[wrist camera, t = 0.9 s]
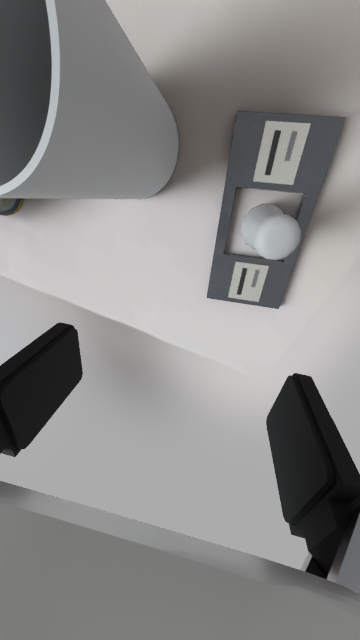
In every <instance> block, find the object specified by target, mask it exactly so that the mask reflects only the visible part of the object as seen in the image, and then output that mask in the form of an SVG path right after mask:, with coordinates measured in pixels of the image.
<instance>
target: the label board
mask: <svg viewBox="0 0 360 640" xmlns="http://www.w3.org/2000/svg"><path fill="white" fill-rule="evenodd" d="M345 118H346V117H333V116H315V115H298V114H280V113H263V112H245V111H237V115H236V121H235V127H234V133H233V139H232V145H231V152H230V158H229V164H228V170H227V176H226V182H225V188H224V195H223V201H222V207H221V213H220V219H219V225H218V231H217V238H216V244H215V250H214V256H213V262H212V268H211V275H210V281H209V287H208V293H207V298H211V299H217V300H224V301H230V302H237V303H244V304H250V305H257V306H263V307H270V308H276V309H279V307H280V304H281V301H282V298H283V295H284V292H285V289H286V287H287V284H288V281H289V278H290V275H291V272H292V269H293V267H294V264H295V261H296V258H297V255H298V252H299V249H300V247H301V244H302V241H303V238H304V235H305V232H306V229H307V227H308V224H309V221H310V218H311V215H312V212H313V209H314V207H315V204H316V201H317V198H318V195H319V192H320V189H321V186H322V184H323V181H324V178H325V175H326V172H327V169H328V166H329V164H330V161H331V158H332V155H333V152H334V149H335V146H336V144H337V141H338V138H339V135H340V132H341V129H342V126H343V124H344V121H345ZM236 187H240V188H251V189H261V190H271V191H282V192H292V193H303V197H302V200H301V203H300V206H299V210H298V213H297V216H296V219H295V220H296V221H297V223H298V225H299V228H300V230H301V235H300V242H299V244H298V245H297V247H296V249H295V250H294V251H293V252H292V253H291V254H289V255H288V256H287V257H285V258H283V260H282V261H281V260H272V259H265V258H257V257H250V256H242V255H234V254H226V253H224V250H225V245H226V239H227V234H228V228H229V223H230V218H231V212H232V207H233V201H234V196H235V190H236Z"/></svg>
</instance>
